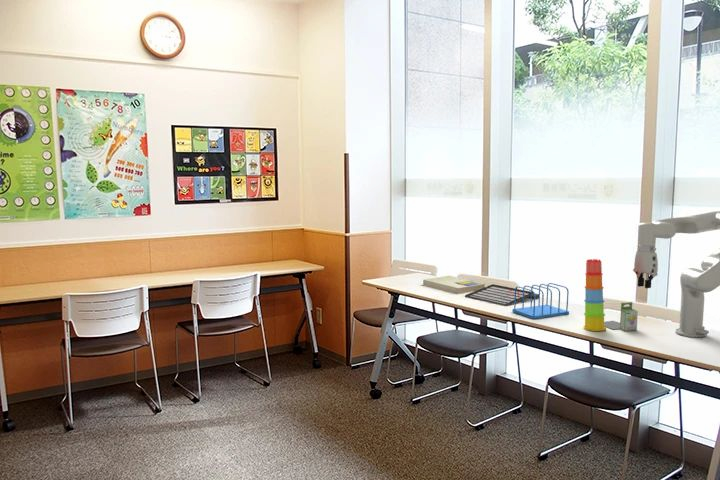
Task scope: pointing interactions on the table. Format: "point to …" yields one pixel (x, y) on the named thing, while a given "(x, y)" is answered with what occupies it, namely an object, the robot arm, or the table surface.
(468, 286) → the puzzle box
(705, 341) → the table surface
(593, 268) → the stacking cups
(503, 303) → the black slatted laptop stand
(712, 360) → the table surface
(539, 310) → the file sorter
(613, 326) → the mat
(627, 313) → the ink box
